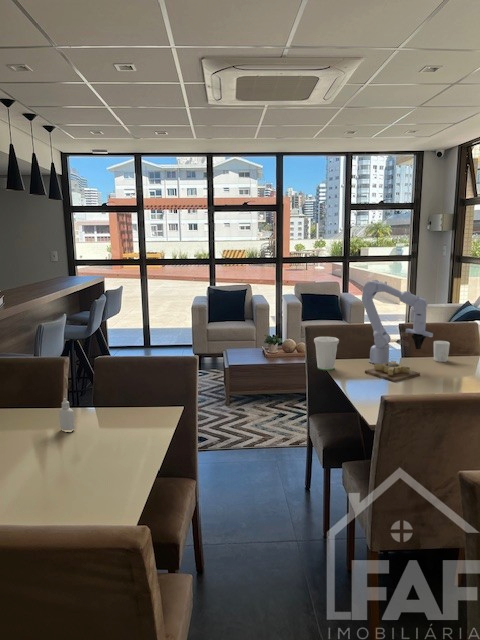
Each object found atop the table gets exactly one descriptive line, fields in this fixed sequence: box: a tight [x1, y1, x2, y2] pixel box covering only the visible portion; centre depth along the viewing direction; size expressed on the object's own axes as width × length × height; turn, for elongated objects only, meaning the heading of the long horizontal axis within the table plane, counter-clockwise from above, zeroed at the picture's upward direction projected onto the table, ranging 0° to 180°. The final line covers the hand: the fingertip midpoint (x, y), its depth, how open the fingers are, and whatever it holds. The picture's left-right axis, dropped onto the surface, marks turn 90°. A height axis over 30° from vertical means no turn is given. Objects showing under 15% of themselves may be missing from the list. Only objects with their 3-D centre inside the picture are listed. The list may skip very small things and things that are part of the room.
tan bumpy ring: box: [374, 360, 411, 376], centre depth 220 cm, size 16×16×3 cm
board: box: [364, 364, 421, 383], centre depth 220 cm, size 18×18×5 cm
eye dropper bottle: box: [58, 397, 76, 430], centre depth 160 cm, size 4×6×12 cm
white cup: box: [433, 340, 451, 363], centre depth 243 cm, size 8×8×10 cm
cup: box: [313, 336, 340, 371], centre depth 231 cm, size 12×12×15 cm
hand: (418, 348), depth 229 cm, fingers closed
